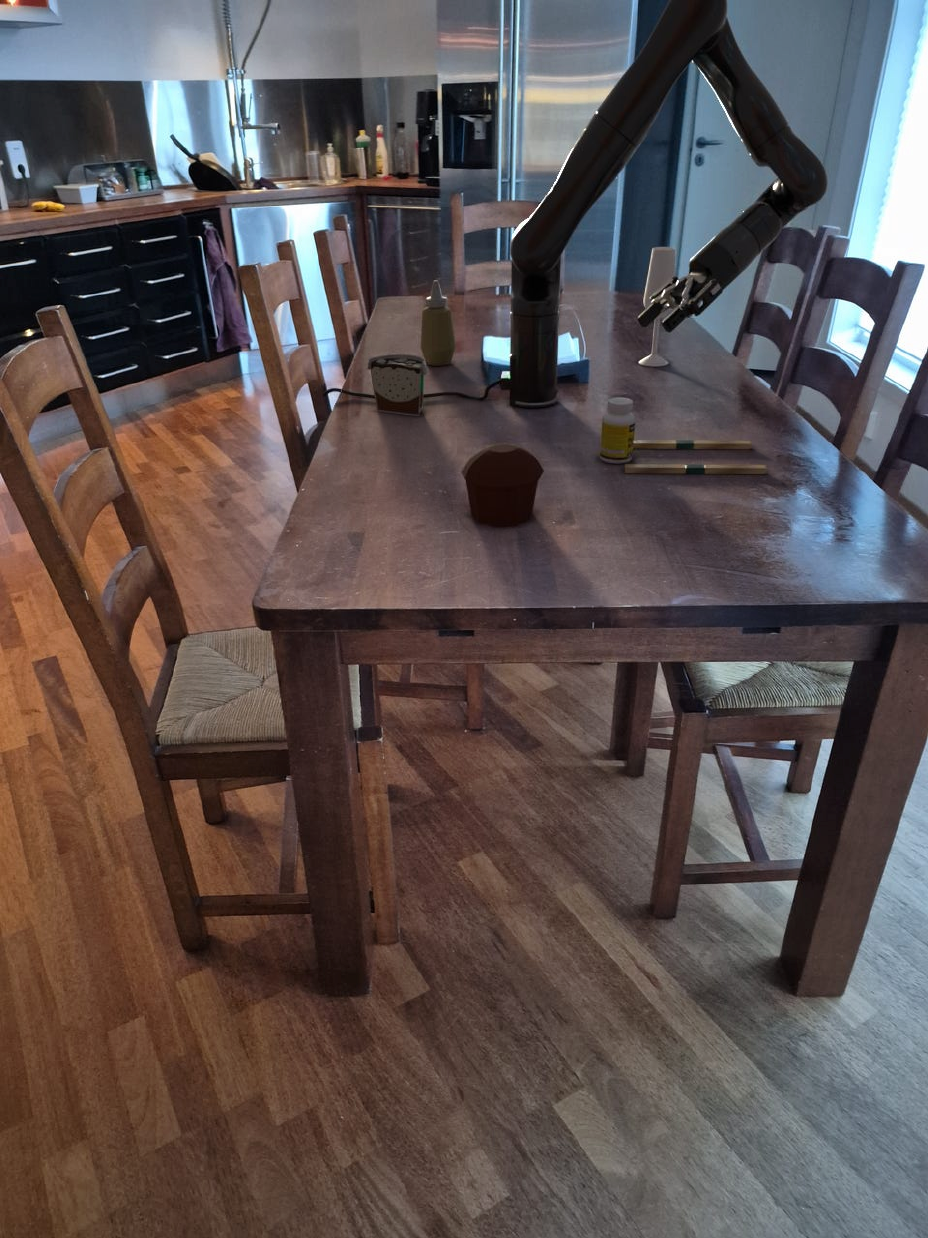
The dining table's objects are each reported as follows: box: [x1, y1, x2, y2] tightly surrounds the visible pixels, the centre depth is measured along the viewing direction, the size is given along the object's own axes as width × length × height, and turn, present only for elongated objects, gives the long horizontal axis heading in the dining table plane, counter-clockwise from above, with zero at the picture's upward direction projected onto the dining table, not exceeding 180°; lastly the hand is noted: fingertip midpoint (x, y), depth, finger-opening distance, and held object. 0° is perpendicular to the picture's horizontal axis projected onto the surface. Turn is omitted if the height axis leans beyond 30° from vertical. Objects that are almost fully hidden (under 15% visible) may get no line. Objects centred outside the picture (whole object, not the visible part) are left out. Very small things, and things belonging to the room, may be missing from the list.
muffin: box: [460, 443, 545, 528], centre depth 123 cm, size 12×11×10 cm
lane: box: [624, 439, 768, 475], centre depth 143 cm, size 22×13×1 cm, turn 86°
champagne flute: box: [638, 246, 676, 367], centre depth 190 cm, size 7×7×24 cm
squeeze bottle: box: [420, 279, 457, 367], centre depth 195 cm, size 8×8×18 cm
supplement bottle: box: [599, 397, 636, 465], centre depth 141 cm, size 5×5×10 cm
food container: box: [366, 353, 429, 417], centre depth 167 cm, size 12×6×10 cm, turn 65°
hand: (652, 325), depth 146 cm, fingers open, 8 cm apart
